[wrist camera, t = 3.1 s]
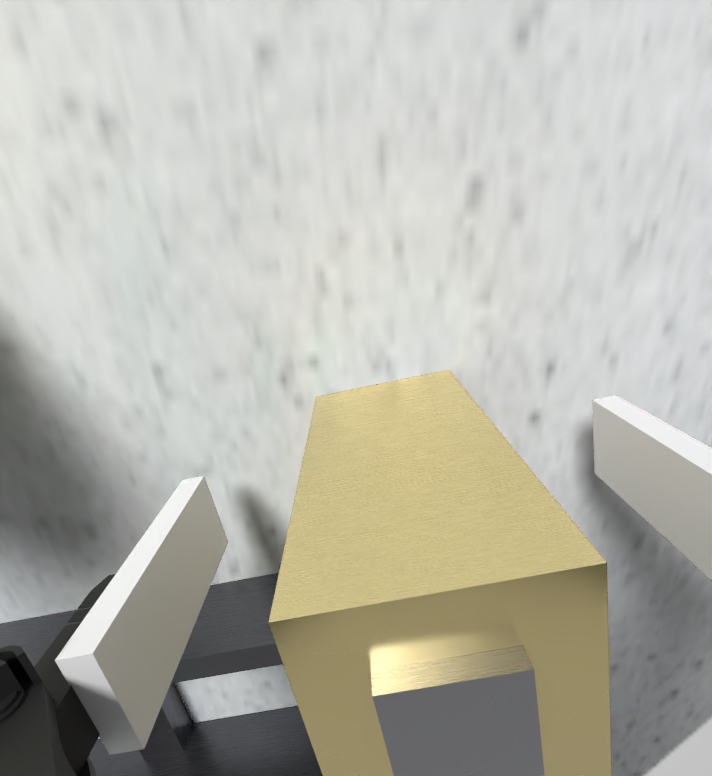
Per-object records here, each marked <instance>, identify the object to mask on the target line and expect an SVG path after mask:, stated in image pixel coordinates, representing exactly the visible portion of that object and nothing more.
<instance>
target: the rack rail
mask: <svg viewBox="0 0 712 776" xmlns="http://www.w3.org/2000/svg"><path fill="white" fill-rule="evenodd" d="M278 575H279V573H276V574H271V575H265V576H260V577H254V578H249V579H244V580H238V581H233V582H227V583H222V584H216V585H211V586H210V588H209V590H208V593H207V595H206V598H205V600H204V603H203V605H202V608H201V610H200V613H199V615H198V618H197V620H196V622H195V625H194V627H193V630H192V632H191V635H190V637H189V640H188V642H187V645H186V647H185V650H184V652H183V655H182V657H181V659H180V662H179V664H178V667H177V669H176V672H175V674H174V677H173V679H172V682H171V684H170V687H169V689H168V692H167V694H166V696H165V699H164V701H163V704H162V706H161V709H160V711H159V714H158V716H157V719H156V721H155V724H154V726H153V729H152V731H151V734H150V736H149V738H148V741H147V743H146V746H145V748H144V749H142V750H136V751H130V752H124V753H117V754H111V755H110V754H109V753H108V751H107V749H106V748H105V746H104V744H103V742H102V741H101V739H98V740H97V741H96V743H95V745H94V747H93V749H92V750H91V752H90V754H89V756H88V757H89V759H90V760H91V762H92V763H93V765H94V767H95V771H96V775H97V776H323V775H322V772H321V769H320V766H319V764H318V761H317V758H316V755H315V752H314V749H313V747H312V744H311V741H310V738H309V735H308V733H307V730H306V727H305V724H304V721H303V718H302V716H301V713H300V710H299V707H298V706H295V707H289V708H283V709H277V710H272V711H266V712H260V713H254V714H248V715H242V716H236V717H230V718H224V719H218V720H212V721H206V722H200V723H194V724H192V722H191V720H190V718H189V715H188V713H187V711H186V709H185V707H184V705H183V703H182V701H181V699H180V697H179V694H178V692H177V690H176V688H175V686H174V684H173V683H176V682H181V681H187V680H193V679H199V678H205V677H210V676H216V675H222V674H228V673H234V672H239V671H245V670H251V669H257V668H263V667H268V666H274V665H280V664H283V662H282V659H281V656H280V654H279V651H278V648H277V645H276V642H275V640H274V637H273V634H272V631H271V628H270V625H269V618H270V613H271V608H272V604H273V599H274V594H275V589H276V585H277V580H278ZM77 611H78V610H74V611H68V612H63V613H57V614H52V615H46V616H41V617H35V618H30V619H24V620H19V621H14V622H8V623H3V624H0V648H3V647H7V646H11V645H14V646H21V647H22V649H23V650H24V652H25V654H26V655H27V657H28V658H29V660H30V662H31V663H32V665H33V667H35V665H36V664H37V663H38V661H39V660H40V659H41V657H42V656H43V654H44V653H45V652H46V650H47V649H48V648H49V646H50V645H51V644H52V642H53V641H54V640H55V638H56V637H57V636H58V634H59V633H60V632H61V630H62V629H63V628H64V626H67V625H68V623H67V622H68V621H69V620H70V618H71V617H72V616H73V614H74V613H75V612H77Z"/></svg>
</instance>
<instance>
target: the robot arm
mask: <svg viewBox="0 0 712 776" xmlns="http://www.w3.org/2000/svg"><path fill="white" fill-rule="evenodd" d="M592 406H593V439H594V471H595V474H596V475H597V476H598V477H599V478H600V479H601V480H602V481H604V482H605V483H606V484H607V485H608V486H609V487H610V488H611V489H612V490H613V491H614V492H616V493H617V494H618V495H619V496H620V497H621V498H622V499H623V500H624V501H625V502H626V503H628V504H629V505H630V506H631V507H632V508H633V509H634V510H635V511H636V512H637V513H638V514H640V515H641V516H642V517H643V518H644V519H645V520H646V521H647V522H648V523H649V524H650V525H652V526H653V527H654V528H655V529H656V530H657V531H658V532H659V533H660V534H661V535H662V536H664V537H665V538H666V539H667V540H668V541H669V542H670V543H671V544H672V545H673V546H675V547H676V548H677V549H678V550H679V551H680V552H681V553H682V554H683V555H684V556H685V557H687V558H688V559H689V560H690V561H691V562H692V563H693V564H694V565H695V566H696V567H697V568H699V569H700V570H701V571H702V572H703V573H704V574H705V575H706V576H707V577H708V578H709V579H711V580H712V448H711V447H709V446H707V445H705V444H703V443H701V442H700V441H698V440H696V439H694V438H692V437H691V436H689V435H687V434H685V433H683V432H682V431H680V430H678V429H676V428H674V427H673V426H671V425H669V424H667V423H665V422H663V421H662V420H660V419H658V418H656V417H654V416H653V415H651V414H649V413H647V412H645V411H644V410H642V409H640V408H638V407H636V406H635V405H633V404H631V403H629V402H627V401H625V400H624V399H622V398H620V397H618V396H616V395H615V396H610V397H605V398H600V399H594V400H592ZM227 543H228V540H227V538H226V535H225V532H224V529H223V527H222V524H221V521H220V518H219V516H218V513H217V510H216V507H215V505H214V502H213V499H212V496H211V494H210V491H209V488H208V485H207V483H206V480H205V477H204V476H201V477H196V478H191V479H186V480H182V481H181V483H180V484H179V486H178V487H177V488H176V490H175V491H174V493H173V494H172V495H171V497H170V498H169V500H168V501H167V503H166V504H165V505H164V507H163V508H162V510H161V511H160V512H159V514H158V515H157V517H156V518H155V519H154V521H153V522H152V524H151V525H150V527H149V528H148V529H147V531H146V532H145V534H144V535H143V536H142V538H141V539H140V541H139V542H138V543H137V545H136V546H135V548H134V549H133V550H132V552H131V553H130V555H129V556H128V558H127V559H126V560H125V562H124V563H123V565H122V566H121V567H120V569H119V570H118V572H117V573H116V574H114V575H109V576H107V577H106V578H105V579H104V580H103V581H102V582H101V583H100V584H98V585H97V586H96V587H95V588H94V589H93V590H92V591H91V592H90V593H89V594H88V596H87V597H86V598H85V600H84V601H83V602H82V604H81V605H80V606H79V608H78V611H77V612H75V613H74V614H73V616H72V617H71V618H70V620H69V621H68V622H67V623H68V625H67V626H64V628H63V629H62V630H61V632H60V633H59V634H58V636H57V637H56V638H55V640H54V641H53V642H52V644H51V645H50V646H49V648H48V649H47V650H46V652H45V653H44V654H43V656H42V657H41V659H40V660H39V661H38V663H37V664H36V665H35V667H33V665H32V663H31V662H30V660H29V658H28V657H27V655H26V654H25V652H24V650H23V649H22V647H21V646H14V645H11V646H7V647H3V648H0V776H97V775H96V771H95V767H94V765H93V763H92V762H91V760H90V759H89V757H88V756H89V754H90V752H91V750H92V749H93V747H94V745H95V743H96V741H97V739H98V737H100V739H101V741H102V742H103V744H104V746H105V748H106V749H107V751H108V753H109V754H110V755H111V754H117V753H124V752H130V751H136V750H142V749H144V748H145V746H146V743H147V741H148V738H149V736H150V734H151V731H152V729H153V726H154V724H155V721H156V719H157V716H158V714H159V711H160V709H161V706H162V704H163V701H164V699H165V696H166V694H167V692H168V689H169V687H170V684H171V682H172V679H173V677H174V674H175V672H176V669H177V667H178V664H179V662H180V659H181V657H182V655H183V652H184V650H185V647H186V645H187V642H188V640H189V637H190V635H191V632H192V630H193V627H194V625H195V622H196V620H197V618H198V615H199V613H200V610H201V608H202V605H203V603H204V600H205V598H206V595H207V593H208V590H209V588H210V585H211V583H212V581H213V578H214V576H215V573H216V571H217V568H218V566H219V563H220V561H221V558H222V556H223V553H224V551H225V548H226V546H227Z"/></svg>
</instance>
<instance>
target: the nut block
mask: <svg viewBox="0 0 712 776" xmlns="http://www.w3.org/2000/svg"><path fill="white" fill-rule="evenodd" d="M269 625H270V628H271V631H272V634H273V637H274V640H275V642H276V645H277V648H278V651H279V654H280V656H281V659H282V662H283V665H284V668H285V671H286V673H287V676H288V679H289V682H290V685H291V687H292V690H293V693H294V696H295V699H296V702H297V704H298V707H299V710H300V713H301V716H302V718H303V721H304V724H305V727H306V730H307V733H308V735H309V738H310V741H311V744H312V747H313V749H314V752H315V755H316V758H317V761H318V764H319V766H320V769H321V772H322V775H323V776H611V734H610V687H609V639H608V592H607V562H606V561H605V560H604V559H603V557H602V556H601V555H600V554H599V553H598V551H597V550H596V549H595V548H594V546H593V545H592V544H591V543H590V542H589V540H588V539H587V538H586V537H585V535H584V534H583V533H582V532H581V531H580V529H579V528H578V527H577V526H576V524H575V523H574V522H573V521H572V520H571V518H570V517H569V516H568V515H567V513H566V512H565V511H564V510H563V509H562V507H561V506H560V505H559V504H558V502H557V501H556V500H555V499H554V498H553V496H552V495H551V494H550V493H549V491H548V490H547V489H546V488H545V486H544V485H543V484H542V483H541V482H540V480H539V479H538V478H537V477H536V475H535V474H534V473H533V472H532V471H531V469H530V468H529V467H528V466H527V464H526V463H525V462H524V461H523V460H522V458H521V457H520V456H519V455H518V453H517V452H516V451H515V450H514V449H513V447H512V446H511V445H510V444H509V442H508V441H507V440H506V439H505V438H504V436H503V435H502V434H501V433H500V431H499V430H498V429H497V428H496V427H495V425H494V424H493V423H492V422H491V420H490V419H489V418H488V417H487V416H486V414H485V413H484V412H483V411H482V409H481V408H480V407H479V406H478V405H477V403H476V402H475V401H474V400H473V398H472V397H471V396H470V395H469V394H468V392H467V391H466V390H465V389H464V387H463V386H462V385H461V384H460V383H459V381H458V380H457V379H456V378H455V376H454V375H453V374H452V373H451V372H450V370H446V371H441V372H436V373H431V374H426V375H421V376H416V377H411V378H406V379H401V380H396V381H391V382H386V383H381V384H376V385H371V386H366V387H361V388H356V389H351V390H347V391H342V392H337V393H332V394H327V395H322V396H317V397H316V400H315V405H314V410H313V414H312V419H311V424H310V428H309V433H308V438H307V443H306V447H305V452H304V457H303V462H302V466H301V471H300V476H299V481H298V485H297V490H296V495H295V500H294V504H293V509H292V514H291V518H290V523H289V528H288V533H287V537H286V542H285V547H284V552H283V556H282V561H281V566H280V571H279V575H278V580H277V585H276V589H275V594H274V599H273V604H272V608H271V613H270V618H269Z"/></svg>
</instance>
